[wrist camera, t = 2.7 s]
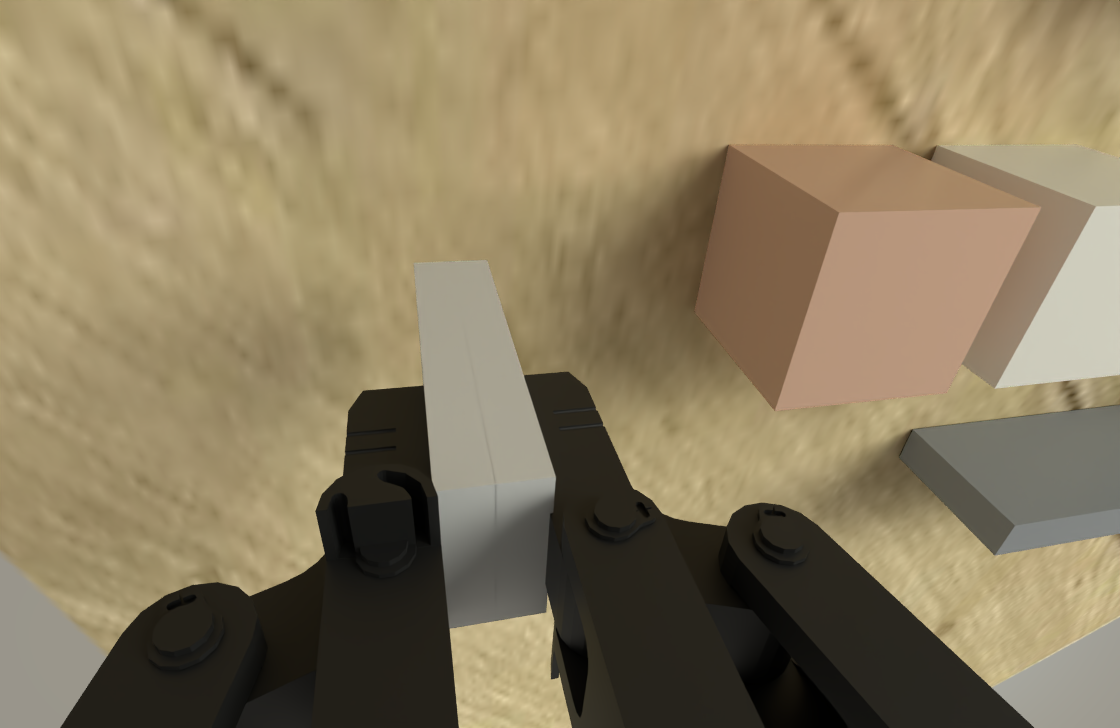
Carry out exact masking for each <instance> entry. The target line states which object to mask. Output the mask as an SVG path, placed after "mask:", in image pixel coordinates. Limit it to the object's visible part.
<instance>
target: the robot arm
mask: <svg viewBox="0 0 1120 728" xmlns="http://www.w3.org/2000/svg"><path fill="white" fill-rule="evenodd" d="M414 273H415V286H416V299H417V311H418V324H419V337H420V350H421V363H422V375H423V386H414V387H402V388H390V389H378V390H366V391H363V392H362V393H361V394H360V396H359V397H358V398H357V400H356V401H355V403H354V404H353V405H352V407H351V408H350V409H349V411H348V423H347V437H346V447H345V459H344V471H343V476H342V477H340V478H338V479H336V480H335V482H334V483H333V484H332V485H331V486H330V487H329V488H328V489H327V490H326V491H325V492H324V493H323V494H322V496H321V498H320V501H319V503H318V506H317V508H316V511H315V512H316V516H317V520H318V525H319V529H320V534H321V538H322V543H323V547H324V551H325V555H324V556H323V557H322V558H321V559H320V560H319V561H318V562H317V563H316V564H314V565H313V566H312V567H310V568H309V569H308V570H306V571H305V572H304V573H302V574H300V575H298V576H296V577H294V578H292V579H290V580H288V581H286V582H284V583H281V584H279V585H276V586H274V587H272V588H269V589H267V590H264V591H262V592H259V593H257V594H254V595H252V596H248V595H247V594H246V593H245V592H243V591H242V590H241V589H240V588H239V587H235V586H231V585H227V584H222V583H218V582H216V583H207V584H198V585H191V586H189V587H186V588H184V589H181V590H178V591H176V592H173V593H171V594H168V595H166V596H164V597H163V598H161V599H160V600H158V601H157V602H155V603H154V604H152V605H151V606H150V607H148V608H147V609H145V610H144V611H142V612H141V613H140V614H139V615H138V616H137V618H136V619H135V620H134V621H133V622H132V623H131V624H130V625H129V627H128V628H127V629H126V630H125V631H124V632H123V633H122V635H121V636H120V638H119V639H118V641H117V642H116V644H115V645H114V647H113V648H112V650H111V651H110V653H109V654H108V656H107V658H106V659H105V661H104V662H103V664H102V665H101V667H100V668H99V670H98V671H97V673H96V674H95V676H94V677H93V679H92V680H91V682H90V684H89V685H88V686H87V688H86V690H85V691H84V693H83V694H82V696H81V697H80V699H79V700H78V702H77V703H76V705H75V706H74V708H73V709H72V711H71V712H70V714H69V715H68V717H67V718H66V720H65V721H64V723H63V725H62V726H61V728H459V726H458V715H457V704H456V694H455V683H454V673H453V662H452V652H451V641H450V630H449V629H450V628H456V627H462V626H468V625H474V624H480V623H486V622H492V621H498V620H504V619H510V618H516V617H522V616H528V615H533V614H539V613H545V612H546V607H547V593H548V597H549V601H550V605H551V609H552V613H553V617H554V632H553V644H552V655H551V679H555V678H559V673H560V678H561V682H562V686H563V691H564V695H565V699H566V703H567V708H568V712H569V716H570V720H571V725H572V728H1034V727H1033V726H1032V725H1031V724H1030V723H1029V722H1028V721H1027V720H1025V719H1024V718H1023V717H1022V716H1021V715H1020V714H1019V713H1018V712H1017V711H1016V710H1015V709H1014V708H1013V707H1012V706H1010V705H1009V704H1008V703H1007V702H1006V701H1005V700H1004V699H1003V698H1002V697H1001V696H1000V695H999V694H997V692H995V691H994V690H993V689H992V688H991V687H990V686H989V685H988V684H987V683H986V682H985V681H984V680H983V679H982V678H981V677H979V676H978V675H977V674H976V673H975V672H974V671H973V670H972V669H971V668H970V667H969V666H968V665H967V664H966V663H964V662H963V661H962V660H961V659H960V658H959V657H958V656H957V655H956V654H955V653H954V652H953V651H952V650H951V649H949V648H948V647H947V646H946V645H945V644H944V643H943V642H942V641H941V640H940V639H939V638H938V637H937V636H936V635H935V634H933V633H932V632H931V631H930V630H929V629H928V628H927V627H926V626H925V625H924V624H923V623H922V622H921V621H920V620H918V619H917V618H916V617H915V616H914V615H913V614H912V613H911V612H910V611H909V610H908V609H907V608H906V607H905V606H903V605H902V604H901V603H900V602H899V601H898V600H897V599H896V598H895V597H894V596H893V595H892V594H891V593H890V592H889V591H887V590H886V589H885V588H884V587H883V586H882V585H881V584H880V583H879V582H878V581H877V580H876V579H875V578H874V577H872V576H871V575H870V574H869V573H868V572H867V571H866V570H865V569H864V568H863V567H862V566H861V565H860V564H859V563H857V562H856V561H855V560H854V559H853V558H852V557H851V556H850V555H849V554H848V553H847V552H846V551H845V550H844V549H842V548H841V547H840V546H839V545H838V544H837V543H836V542H835V541H834V540H833V539H832V538H831V537H830V536H829V535H828V534H826V533H825V532H824V531H823V530H822V529H821V528H820V527H819V526H818V525H817V524H815V523H814V522H812V521H811V520H810V519H808V518H807V517H805V516H804V515H803V514H801V513H799V512H797V511H794V510H792V509H789V508H787V507H784V506H782V505H776V504H768V503H757V504H751V505H746V506H744V507H742V508H741V509H739V510H738V511H736V512H735V513H733V514H732V516H731V518H730V521H729V523H728V525H727V527H726V526H718V525H711V524H703V523H695V522H688V521H683V520H679V519H674V518H671V517H669V516H667V515H664V514H662V513H661V512H660V510H659V509H658V508H657V506H656V505H655V504H654V502H653V501H652V500H651V499H649V498H648V497H646V496H645V495H643V494H642V493H640V492H639V491H637V490H634V489H633V488H632V486H631V484H630V482H629V480H628V477H627V475H626V473H625V471H624V469H623V466H622V464H621V462H620V460H619V457H618V455H617V453H616V451H615V449H614V446H613V444H612V442H611V440H610V438H609V435H608V433H607V431H606V429H605V427H603V422H602V420H601V418H600V415H599V413H598V411H596V406H595V404H594V402H593V400H592V398H591V395H590V393H589V391H588V389H587V387H586V386H585V385H583V384H582V383H581V382H580V381H579V380H577V379H576V378H575V377H574V376H573V375H571V374H570V373H569V372H559V373H547V374H535V375H523V372H522V369H521V366H520V362H519V359H518V356H517V353H516V350H515V347H514V343H513V340H512V337H511V334H510V331H509V328H508V325H507V321H506V318H505V315H504V312H503V309H502V306H501V303H500V299H499V296H498V293H497V290H496V287H495V284H494V280H493V277H492V274H491V271H490V268H489V265H488V262H487V260H471V261H447V262H422V263H414Z"/></svg>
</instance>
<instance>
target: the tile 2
mask: <svg viewBox="0 0 1120 728" xmlns="http://www.w3.org/2000/svg"><path fill="white" fill-rule="evenodd" d="M931 161H932V162H934V163H937V164H939V165H942V166H944V167H946V168H949V169H951V170H954V171H956V172H958V173H961V174H963V175H966V176H968V177H970V178H973V179H975V180H977V181H980V182H982V183H985V184H987V185H989V186H992V187H994V188H997V189H999V190H1001V191H1004V192H1006V193H1009V194H1011V195H1013V196H1016V197H1018V198H1020V199H1023V200H1025V201H1028V202H1030V203H1032V204H1035V205H1037V206H1040V207H1041V209H1040V211H1039V213H1038V215H1037V217H1036V219H1035V221H1034V223H1033V225H1032V227H1031V229H1030V231H1029V233H1028V235H1027V237H1026V239H1025V241H1024V243H1023V245H1022V247H1021V249H1020V251H1019V253H1018V254H1017V256H1016V258H1015V260H1014V262H1013V264H1012V266H1011V268H1010V270H1009V272H1008V274H1007V276H1006V278H1005V280H1004V282H1003V284H1002V286H1001V288H1000V290H999V292H998V294H997V296H996V298H995V300H994V302H993V304H992V305H991V307H990V309H989V311H988V313H987V315H986V317H985V319H984V321H983V323H982V325H981V327H980V329H979V331H978V333H977V335H976V337H975V339H974V341H973V343H972V345H971V347H970V349H969V351H968V353H967V355H966V356H965V358H964V360H963V362H962V364H963V365H964V366H965V367H967V368H968V369H969V370H971V371H972V372H973V373H975V374H976V375H977V376H979V377H980V378H981V379H983V380H984V381H985V382H987V383H988V384H989V385H991V386H992V387H993V388H995V389H996V388H1005V387H1014V386H1023V385H1032V384H1041V383H1050V382H1059V381H1068V380H1077V379H1086V378H1095V377H1104V376H1113V375H1120V157H1116V156H1113V155H1110V154H1107V153H1103V152H1100V151H1097V150H1094V149H1090V148H1087V147H1084V146H1081V145H1077V144H1040V145H937V147H936V149H935V152H934V154H933V157H932V160H931Z"/></svg>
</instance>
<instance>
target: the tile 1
mask: <svg viewBox="0 0 1120 728" xmlns="http://www.w3.org/2000/svg"><path fill="white" fill-rule="evenodd" d="M1040 209H1041V207H1040V206H1037V205H1035V204H1032V203H1030V202H1028V201H1025V200H1023V199H1020V198H1018V197H1016V196H1013V195H1011V194H1009V193H1006V192H1004V191H1001V190H999V189H997V188H994V187H992V186H989V185H987V184H985V183H982V182H980V181H977V180H975V179H973V178H970V177H968V176H966V175H963V174H961V173H958V172H956V171H954V170H951V169H949V168H946V167H944V166H942V165H939V164H937V163H934V162H932V161H930V160H927V159H925V158H923V157H920V156H918V155H915V154H913V153H911V152H908V151H906V150H903V149H901V148H899V147H896V146H894V145H729V147H728V151H727V156H726V161H725V166H724V171H723V175H722V180H721V185H720V190H719V195H718V200H717V204H716V209H715V214H714V219H713V224H712V228H711V233H710V238H709V243H708V248H707V253H706V257H705V262H704V267H703V272H702V277H701V281H700V286H699V291H698V296H697V301H696V305H695V310H694V312H695V313H696V315H697V316H698V317H699V318H700V320H701V321H702V322H703V323H704V325H705V326H706V327H707V328H708V329H709V331H710V332H711V333H712V334H713V336H714V337H715V338H716V339H717V340H718V342H719V343H720V344H721V345H722V347H723V348H724V349H725V350H726V352H727V353H728V354H729V355H730V356H731V358H732V359H733V360H734V361H735V363H736V364H737V365H738V366H739V367H740V369H741V370H742V371H743V372H744V374H745V375H746V376H747V377H748V379H749V380H750V381H751V382H752V383H753V385H754V386H755V387H756V388H757V390H758V391H759V392H760V393H761V394H762V396H763V397H764V398H765V399H766V401H767V402H768V403H769V404H770V406H771V407H772V408H773V409H774V410H775V411H780V410H789V409H799V408H808V407H818V406H828V405H837V404H847V403H857V402H866V401H876V400H885V399H895V398H905V397H914V396H924V395H934V394H943V393H947V392H948V390H949V388H950V386H951V384H952V382H953V380H954V378H955V376H956V374H957V372H958V370H959V368H960V366H961V364H962V362H963V360H964V358H965V356H966V355H967V353H968V351H969V349H970V347H971V345H972V343H973V341H974V339H975V337H976V335H977V333H978V331H979V329H980V327H981V325H982V323H983V321H984V319H985V317H986V315H987V313H988V311H989V309H990V307H991V305H992V304H993V302H994V300H995V298H996V296H997V294H998V292H999V290H1000V288H1001V286H1002V284H1003V282H1004V280H1005V278H1006V276H1007V274H1008V272H1009V270H1010V268H1011V266H1012V264H1013V262H1014V260H1015V258H1016V256H1017V254H1018V253H1019V251H1020V249H1021V247H1022V245H1023V243H1024V241H1025V239H1026V237H1027V235H1028V233H1029V231H1030V229H1031V227H1032V225H1033V223H1034V221H1035V219H1036V217H1037V215H1038V213H1039V211H1040Z"/></svg>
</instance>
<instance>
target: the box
mask: <svg viewBox="0 0 1120 728" xmlns="http://www.w3.org/2000/svg"><path fill="white" fill-rule="evenodd" d="M899 458H900V459H901V460H902V461H903V462H904V463H905V464H906V465H907V466H908V467H909V468H910V469H911V470H912V471H913V472H914V473H915V474H916V475H917V476H918V477H919V478H920V479H921V481H922V482H923V483H924V484H925V485H926V486H927V487H928V488H929V489H930V490H931V491H932V492H933V493H934V494H935V495H936V496H937V497H938V498H939V499H940V500H941V501H942V502H943V503H944V504H945V505H946V506H947V507H948V508H949V509H950V510H951V511H952V512H953V513H954V514H955V515H956V516H957V517H958V518H959V519H960V520H961V521H962V522H963V523H964V524H965V526H966V527H967V528H968V529H969V530H970V531H971V532H972V533H973V534H974V535H975V536H976V537H977V538H978V539H979V540H980V541H981V542H982V543H983V544H984V545H985V546H986V547H987V548H988V549H989V550H990V551H991V552H992V553H993V554H994V555H1000V554H1006V553H1012V552H1017V551H1023V550H1029V549H1034V548H1040V547H1046V546H1051V545H1057V544H1063V543H1068V542H1074V541H1080V540H1085V539H1091V538H1097V537H1102V536H1108V535H1114V534H1120V405H1116V406H1107V407H1099V408H1090V409H1082V410H1073V411H1065V412H1056V413H1048V414H1040V415H1031V416H1023V417H1014V418H1006V419H997V420H989V421H980V422H972V423H963V424H955V425H946V426H938V427H929V428H921V429H913V430H912V432H911V434H910V436H909V438H908V440H907V442H906V445H905V447H904V449H903V451H902V453H901V455H900V457H899Z"/></svg>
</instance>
